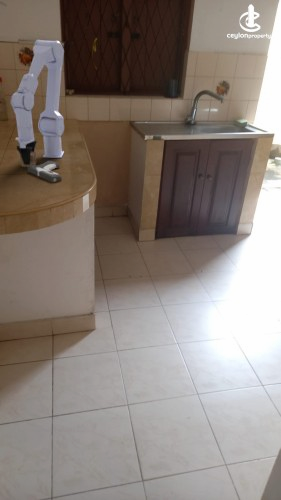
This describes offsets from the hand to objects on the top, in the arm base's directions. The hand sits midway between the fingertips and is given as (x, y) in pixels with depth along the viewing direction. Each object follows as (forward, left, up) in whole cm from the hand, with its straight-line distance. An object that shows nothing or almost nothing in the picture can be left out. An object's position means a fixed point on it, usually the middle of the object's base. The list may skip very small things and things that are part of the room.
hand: (28, 161), depth 142 cm
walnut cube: (0, 0, -2) cm, 2 cm away
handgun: (+9, +10, -2) cm, 14 cm away
